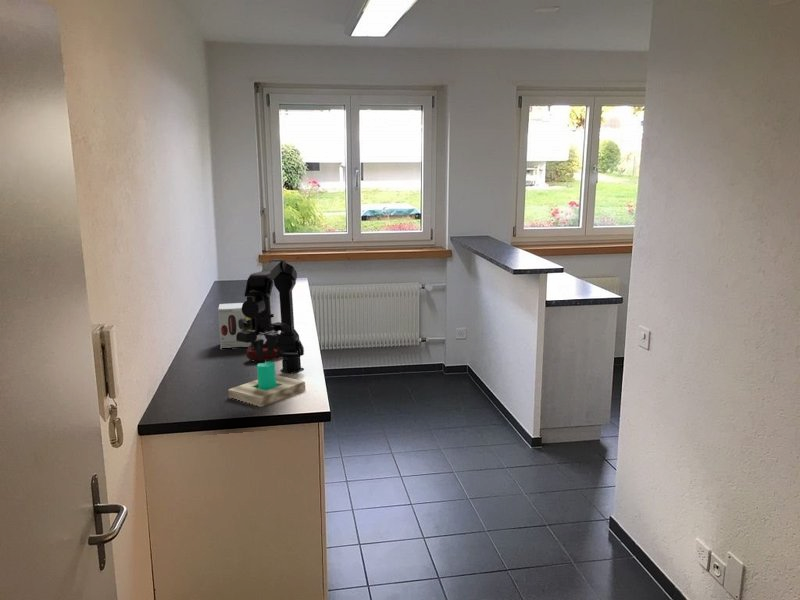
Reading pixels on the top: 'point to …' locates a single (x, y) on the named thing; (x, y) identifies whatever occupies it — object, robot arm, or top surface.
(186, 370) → the top surface
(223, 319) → the supplement box
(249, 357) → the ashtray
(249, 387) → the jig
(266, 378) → the candle
